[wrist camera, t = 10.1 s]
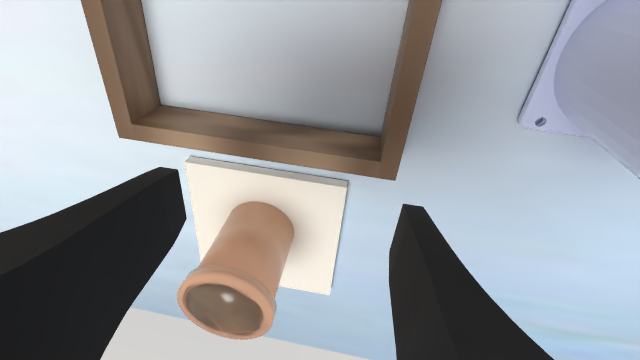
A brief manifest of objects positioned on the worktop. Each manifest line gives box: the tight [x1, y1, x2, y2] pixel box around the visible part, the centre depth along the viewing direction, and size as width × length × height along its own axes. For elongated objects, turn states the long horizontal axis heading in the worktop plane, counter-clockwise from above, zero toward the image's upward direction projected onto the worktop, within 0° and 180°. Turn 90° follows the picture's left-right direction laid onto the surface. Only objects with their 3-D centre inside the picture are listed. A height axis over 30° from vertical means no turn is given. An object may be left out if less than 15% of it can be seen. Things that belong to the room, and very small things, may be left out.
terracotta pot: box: [177, 201, 294, 340], centre depth 22 cm, size 6×6×7 cm
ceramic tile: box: [185, 156, 348, 295], centre depth 25 cm, size 11×11×1 cm
